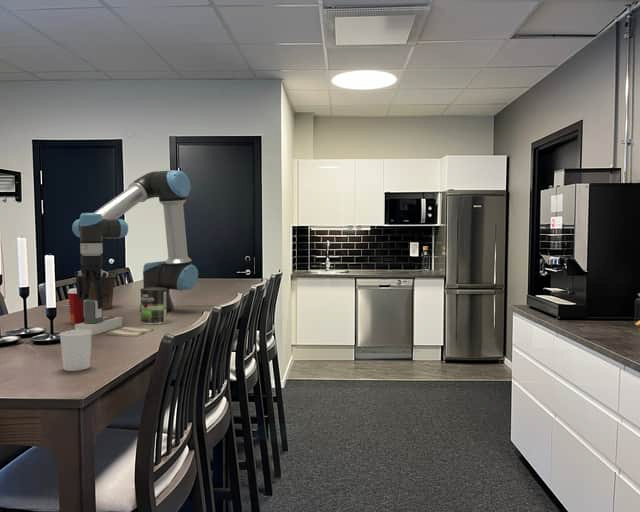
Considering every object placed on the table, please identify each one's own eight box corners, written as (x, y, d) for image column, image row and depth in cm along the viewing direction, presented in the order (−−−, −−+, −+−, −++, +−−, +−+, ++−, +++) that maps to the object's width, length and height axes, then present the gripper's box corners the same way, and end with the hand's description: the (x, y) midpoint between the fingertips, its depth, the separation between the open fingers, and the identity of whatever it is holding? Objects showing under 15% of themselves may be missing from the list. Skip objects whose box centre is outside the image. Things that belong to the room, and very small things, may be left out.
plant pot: (122, 308, 247) (122, 275, 246) (88, 312, 235) (87, 277, 234) (107, 305, 258) (107, 273, 257) (74, 308, 246) (73, 275, 245)
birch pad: (125, 328, 198) (125, 326, 198) (153, 330, 195) (153, 328, 195) (105, 335, 186) (105, 332, 186) (135, 336, 183) (135, 334, 183)
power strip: (106, 326, 205) (106, 315, 204) (122, 327, 203) (122, 315, 203) (74, 335, 187) (74, 323, 187) (91, 336, 185) (91, 324, 185)
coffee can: (155, 325, 205) (155, 290, 204) (135, 323, 209) (134, 289, 208) (172, 321, 214) (171, 287, 214) (152, 319, 218) (152, 286, 218)
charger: (93, 326, 195) (93, 300, 194) (103, 326, 194) (102, 300, 193) (84, 328, 190) (84, 301, 189) (94, 329, 189) (93, 302, 188)
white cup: (67, 364, 146) (67, 329, 146) (96, 364, 147) (95, 329, 146) (55, 372, 138) (55, 335, 138) (86, 371, 139) (85, 335, 139)
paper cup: (92, 321, 213) (91, 288, 212) (82, 324, 206) (81, 290, 205) (74, 321, 214) (74, 287, 213) (63, 324, 206) (63, 289, 206)
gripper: (64, 254, 188) (66, 317, 190) (105, 255, 184) (106, 320, 185) (78, 253, 196) (80, 314, 197) (118, 254, 191) (119, 316, 193)
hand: (92, 317), depth 191 cm, fingers closed on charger, 4 cm apart
